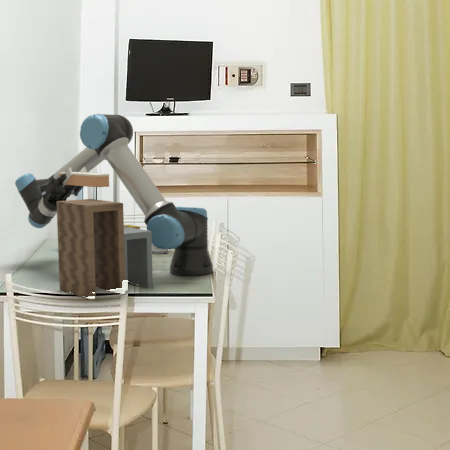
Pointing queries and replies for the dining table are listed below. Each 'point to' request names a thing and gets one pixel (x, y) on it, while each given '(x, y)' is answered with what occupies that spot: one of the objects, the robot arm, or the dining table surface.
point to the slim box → (88, 179)
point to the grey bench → (138, 256)
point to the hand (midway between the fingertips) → (78, 170)
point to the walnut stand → (90, 245)
